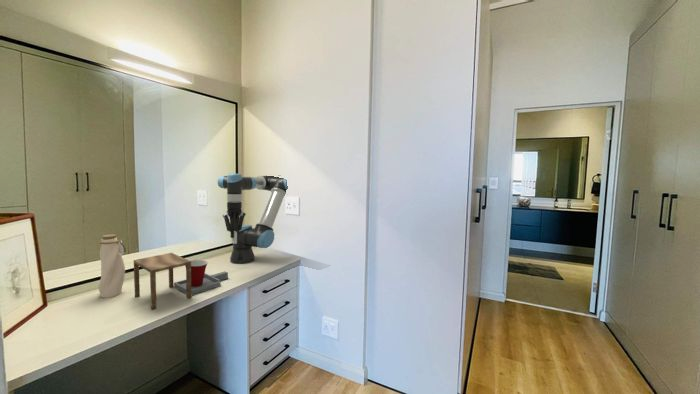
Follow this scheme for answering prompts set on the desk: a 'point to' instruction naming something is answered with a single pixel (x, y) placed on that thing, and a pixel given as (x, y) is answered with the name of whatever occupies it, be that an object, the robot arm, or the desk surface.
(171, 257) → the small wooden stool
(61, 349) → the desk surface
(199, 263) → the plastic cup
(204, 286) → the tray
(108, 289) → the water bottle
